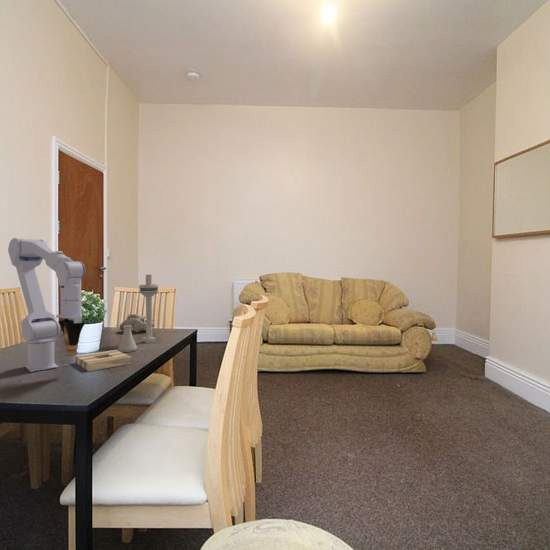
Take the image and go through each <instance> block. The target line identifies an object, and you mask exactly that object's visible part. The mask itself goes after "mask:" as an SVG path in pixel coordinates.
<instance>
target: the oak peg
mask: <svg viewBox="0 0 550 550" xmlns="http://www.w3.org/2000/svg"><path fill="white" fill-rule="evenodd" d="M63 338H64V339H63V343H64V344H65V345H64V348H65V350H66V356H67V357H72V356H78V349H79V344H78V345H70V344H69V340H68V334H67V331H66V328H65V326H64V334H63ZM79 342H80V340H79V341H78V343H79Z"/></svg>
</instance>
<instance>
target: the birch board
mask: <svg viewBox="0 0 550 550" xmlns="http://www.w3.org/2000/svg"><path fill="white" fill-rule="evenodd" d="M74 356H75V364H77V365H78V366H79V367H81V368H82V369H84V370H85V371H87V372H93V371H98V370H103V369H109V368H115V367H121V366H126V365H131V364H132V356H131V355H128V354H127V353H125V352H120V351H118V349H113V350H108V351H107V350H106V351H100V352H93V353H87V354H80V355H79V354H77V355H74Z"/></svg>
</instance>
